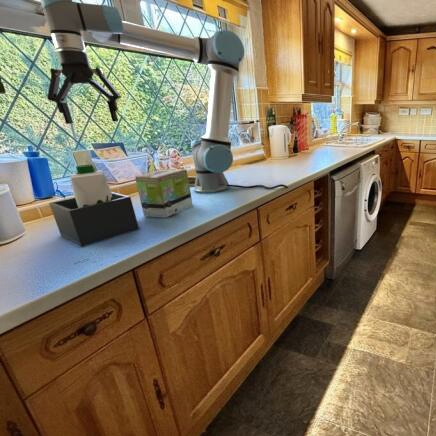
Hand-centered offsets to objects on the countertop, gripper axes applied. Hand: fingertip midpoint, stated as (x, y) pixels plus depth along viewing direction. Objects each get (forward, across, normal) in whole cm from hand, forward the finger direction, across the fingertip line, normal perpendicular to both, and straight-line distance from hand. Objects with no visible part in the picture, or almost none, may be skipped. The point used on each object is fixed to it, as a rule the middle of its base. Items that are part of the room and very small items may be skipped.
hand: (93, 122), depth 102 cm
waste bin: (+32, +2, -20) cm, 38 cm away
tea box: (+33, +18, -4) cm, 38 cm away
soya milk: (+32, +3, -20) cm, 38 cm away
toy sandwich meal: (+33, +21, +41) cm, 57 cm away
